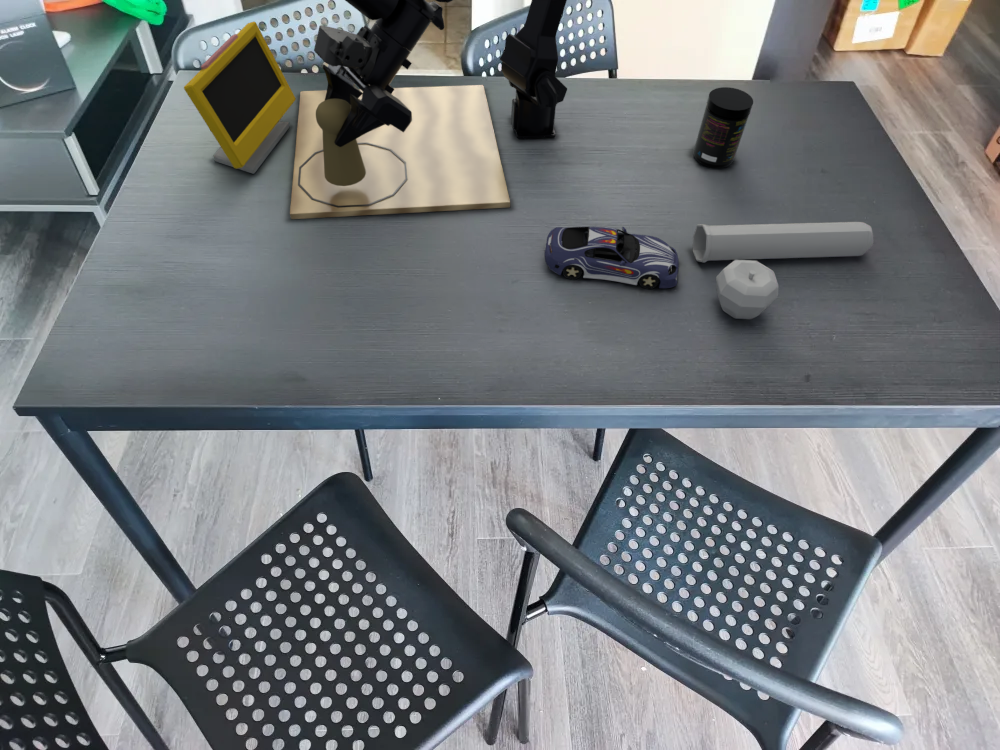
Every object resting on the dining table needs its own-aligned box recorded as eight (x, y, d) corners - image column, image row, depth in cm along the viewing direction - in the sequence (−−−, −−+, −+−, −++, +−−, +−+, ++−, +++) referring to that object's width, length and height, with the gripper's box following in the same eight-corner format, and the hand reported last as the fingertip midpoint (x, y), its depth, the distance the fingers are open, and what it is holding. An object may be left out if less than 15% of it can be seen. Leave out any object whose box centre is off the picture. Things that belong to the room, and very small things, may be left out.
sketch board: (483, 89, 126) (483, 84, 125) (510, 207, 105) (510, 201, 104) (301, 96, 123) (300, 90, 122) (290, 219, 101) (289, 213, 101)
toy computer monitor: (248, 187, 106) (219, 88, 94) (199, 179, 107) (165, 79, 95) (300, 118, 118) (280, 22, 106) (256, 111, 119) (232, 15, 107)
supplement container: (737, 153, 116) (757, 93, 108) (728, 174, 112) (748, 114, 104) (697, 142, 118) (714, 83, 110) (687, 163, 114) (704, 103, 106)
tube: (864, 213, 101) (696, 218, 98) (886, 226, 96) (709, 231, 94) (854, 248, 103) (690, 253, 101) (874, 263, 99) (703, 268, 96)
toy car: (677, 293, 94) (685, 265, 91) (540, 276, 96) (543, 247, 92) (676, 255, 99) (684, 226, 96) (546, 239, 101) (549, 210, 97)
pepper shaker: (334, 158, 105) (321, 89, 97) (372, 165, 105) (362, 96, 96) (317, 181, 102) (302, 112, 93) (356, 189, 101) (345, 119, 92)
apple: (695, 295, 94) (708, 258, 89) (745, 282, 96) (760, 245, 91) (728, 337, 90) (744, 300, 85) (779, 322, 92) (798, 286, 87)
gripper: (316, -26, 91) (255, 77, 96) (381, 33, 82) (309, 145, 86) (378, 22, 100) (319, 114, 105) (442, 80, 90) (375, 179, 95)
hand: (329, 136), depth 98 cm, fingers closed on pepper shaker, 5 cm apart
